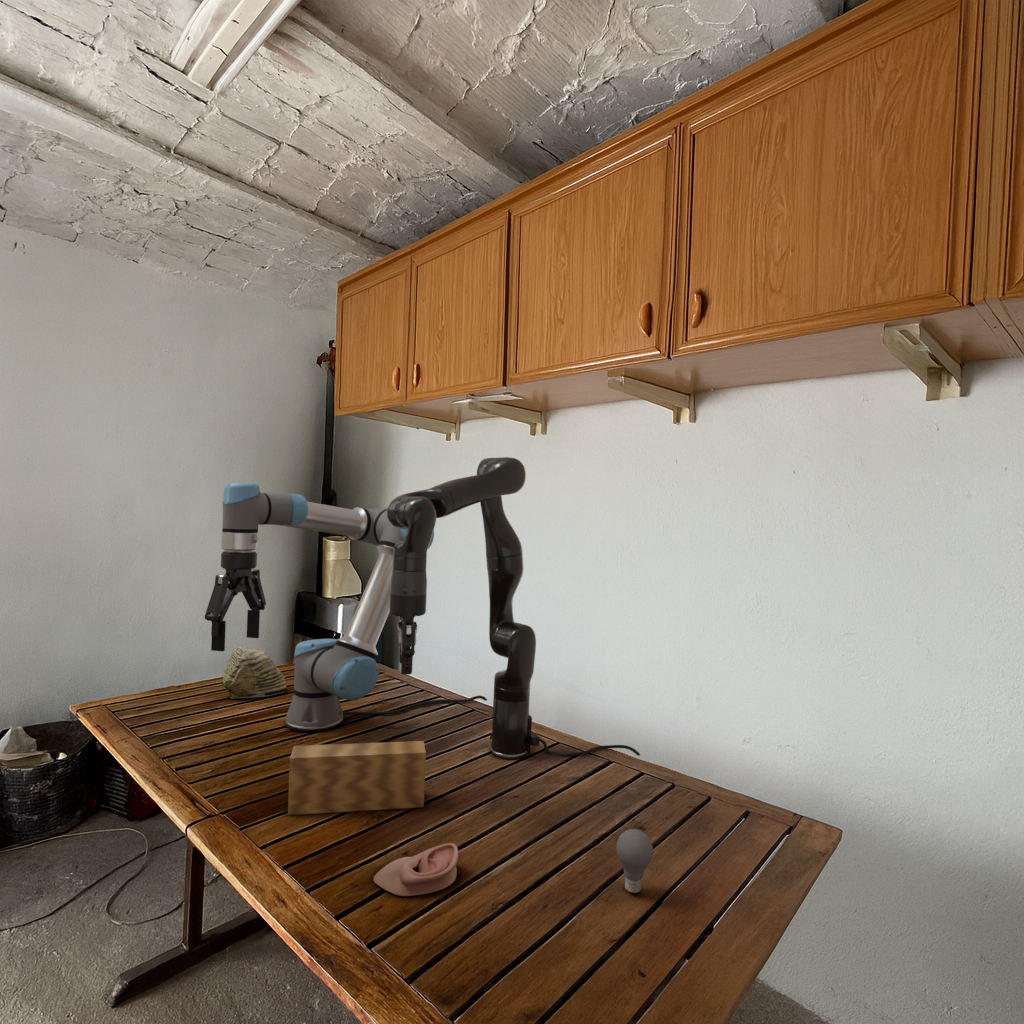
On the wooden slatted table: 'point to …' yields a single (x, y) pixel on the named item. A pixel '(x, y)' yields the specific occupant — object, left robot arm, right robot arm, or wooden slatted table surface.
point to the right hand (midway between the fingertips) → (405, 668)
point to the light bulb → (634, 857)
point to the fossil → (252, 674)
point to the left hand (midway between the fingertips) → (236, 644)
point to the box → (356, 777)
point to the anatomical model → (420, 872)
